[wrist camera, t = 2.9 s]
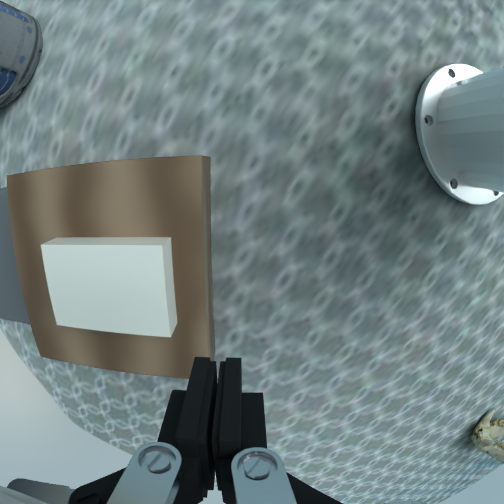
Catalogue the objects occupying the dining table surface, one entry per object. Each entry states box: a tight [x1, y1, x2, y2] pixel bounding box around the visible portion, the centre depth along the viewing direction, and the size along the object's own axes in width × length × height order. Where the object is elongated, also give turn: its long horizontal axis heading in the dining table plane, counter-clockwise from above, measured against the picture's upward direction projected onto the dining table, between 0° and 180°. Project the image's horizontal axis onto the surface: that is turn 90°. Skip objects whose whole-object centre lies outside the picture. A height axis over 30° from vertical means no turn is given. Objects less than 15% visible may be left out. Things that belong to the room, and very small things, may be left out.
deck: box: [7, 156, 215, 379], centre depth 22 cm, size 16×16×4 cm
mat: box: [0, 188, 30, 324], centre depth 24 cm, size 10×14×1 cm
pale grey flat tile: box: [41, 237, 177, 337], centre depth 19 cm, size 9×6×2 cm, turn 89°
